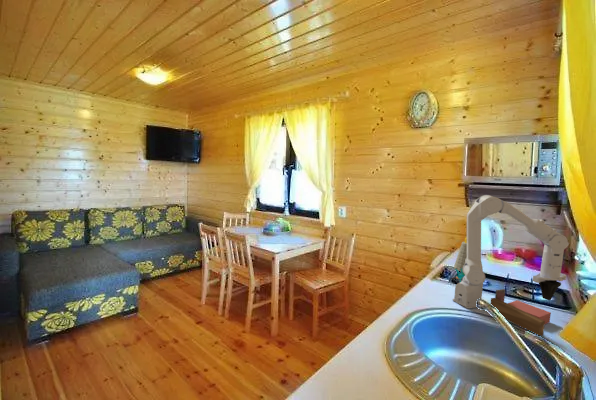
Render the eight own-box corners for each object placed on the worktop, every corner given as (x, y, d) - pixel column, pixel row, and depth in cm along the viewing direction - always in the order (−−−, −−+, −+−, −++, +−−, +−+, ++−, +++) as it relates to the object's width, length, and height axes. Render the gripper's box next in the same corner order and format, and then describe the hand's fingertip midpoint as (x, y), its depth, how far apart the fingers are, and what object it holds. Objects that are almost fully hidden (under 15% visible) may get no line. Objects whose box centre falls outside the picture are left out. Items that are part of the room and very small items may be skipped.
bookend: (495, 310, 116) (497, 290, 115) (493, 309, 117) (496, 290, 116) (503, 309, 117) (505, 289, 116) (501, 308, 118) (503, 289, 117)
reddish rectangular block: (537, 328, 105) (539, 317, 104) (504, 314, 114) (505, 304, 114) (549, 323, 108) (550, 312, 108) (515, 309, 118) (517, 300, 117)
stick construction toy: (462, 282, 138) (456, 266, 143) (448, 286, 143) (443, 270, 147) (476, 285, 144) (470, 269, 148) (462, 289, 149) (457, 273, 153)
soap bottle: (456, 272, 158) (459, 234, 156) (451, 265, 170) (454, 229, 168) (482, 275, 155) (486, 236, 153) (476, 267, 167) (480, 231, 164)
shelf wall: (538, 336, 99) (540, 321, 98) (489, 310, 116) (491, 298, 115) (543, 335, 99) (544, 321, 99) (493, 310, 116) (495, 297, 116)
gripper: (549, 269, 106) (544, 305, 107) (577, 266, 110) (572, 301, 112) (528, 262, 113) (524, 297, 114) (556, 260, 117) (551, 293, 118)
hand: (546, 298), depth 113 cm, fingers closed
